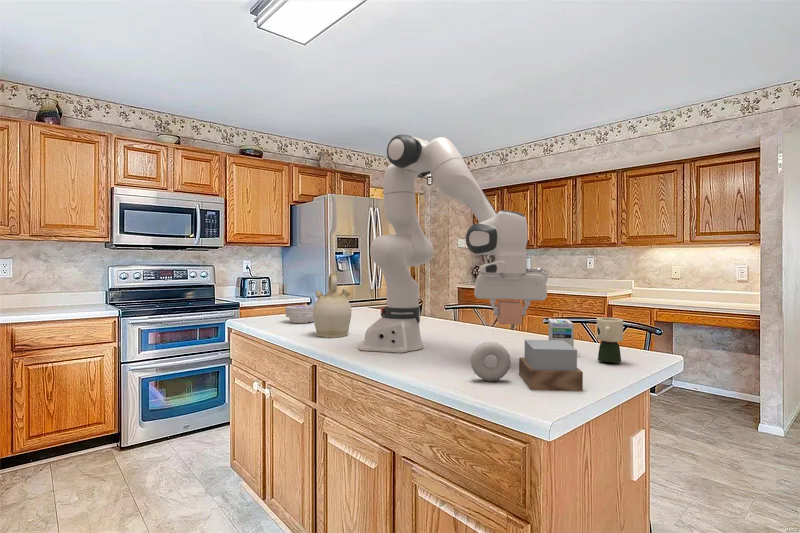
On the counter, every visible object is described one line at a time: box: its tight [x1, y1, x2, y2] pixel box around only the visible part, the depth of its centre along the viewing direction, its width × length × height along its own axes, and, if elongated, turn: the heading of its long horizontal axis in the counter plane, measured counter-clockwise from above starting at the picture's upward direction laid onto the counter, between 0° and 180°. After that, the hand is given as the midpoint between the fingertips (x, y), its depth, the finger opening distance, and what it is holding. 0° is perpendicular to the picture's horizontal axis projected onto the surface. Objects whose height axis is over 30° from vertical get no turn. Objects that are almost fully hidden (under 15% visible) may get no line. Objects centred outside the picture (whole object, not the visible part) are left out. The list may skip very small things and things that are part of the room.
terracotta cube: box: [496, 300, 523, 326], centre depth 129 cm, size 6×6×6 cm
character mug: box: [596, 317, 624, 364], centre depth 133 cm, size 11×7×13 cm, turn 147°
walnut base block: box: [518, 357, 584, 392], centre depth 112 cm, size 12×14×5 cm
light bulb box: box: [547, 318, 575, 348], centre depth 146 cm, size 11×7×11 cm, turn 168°
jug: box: [313, 272, 352, 339], centre depth 180 cm, size 15×16×25 cm
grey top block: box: [524, 339, 578, 371], centre depth 112 cm, size 10×12×5 cm
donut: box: [470, 341, 511, 382], centre depth 113 cm, size 10×4×10 cm, turn 87°
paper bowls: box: [285, 304, 315, 324], centre depth 216 cm, size 15×15×8 cm
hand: (509, 315), depth 129 cm, fingers closed on terracotta cube, 6 cm apart
